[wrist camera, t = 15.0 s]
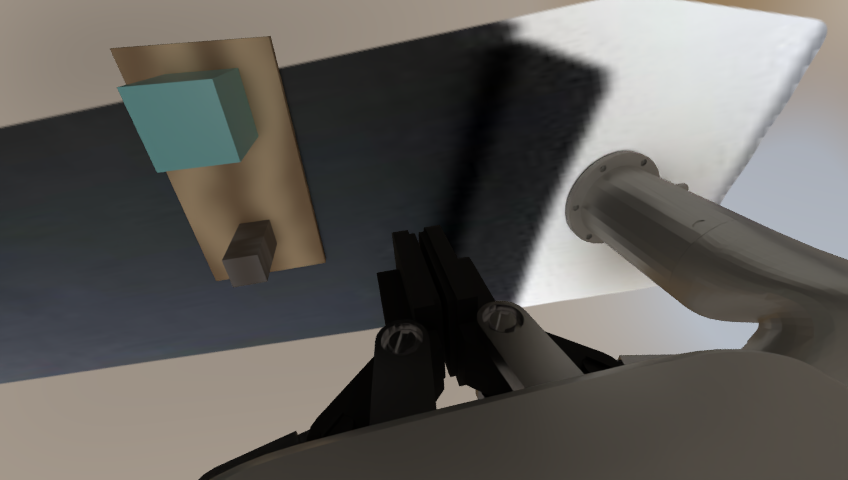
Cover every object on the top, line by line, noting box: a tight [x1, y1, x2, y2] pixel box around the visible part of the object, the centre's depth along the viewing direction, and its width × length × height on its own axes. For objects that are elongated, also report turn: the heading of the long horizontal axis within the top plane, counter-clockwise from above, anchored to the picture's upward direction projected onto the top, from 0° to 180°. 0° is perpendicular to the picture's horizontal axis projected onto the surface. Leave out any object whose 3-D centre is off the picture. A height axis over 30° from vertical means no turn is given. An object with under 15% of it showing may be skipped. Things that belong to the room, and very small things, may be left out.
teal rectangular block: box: [117, 68, 258, 172], centre depth 28 cm, size 6×6×8 cm
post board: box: [110, 36, 326, 287], centre depth 33 cm, size 12×23×8 cm, turn 4°
